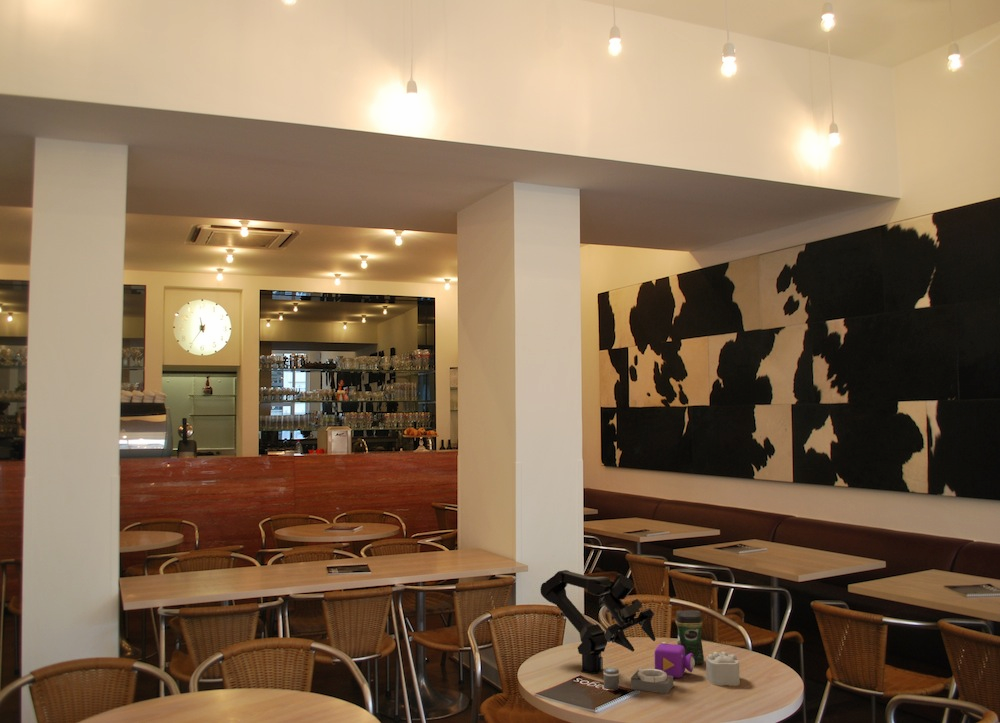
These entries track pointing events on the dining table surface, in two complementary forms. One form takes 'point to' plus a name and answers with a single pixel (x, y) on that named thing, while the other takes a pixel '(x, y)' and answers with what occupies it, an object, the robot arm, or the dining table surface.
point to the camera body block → (652, 680)
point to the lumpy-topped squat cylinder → (722, 669)
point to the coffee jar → (690, 633)
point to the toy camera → (673, 659)
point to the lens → (611, 678)
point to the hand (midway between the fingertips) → (644, 645)
